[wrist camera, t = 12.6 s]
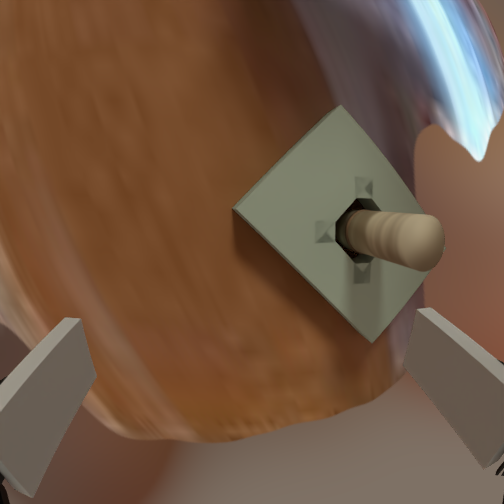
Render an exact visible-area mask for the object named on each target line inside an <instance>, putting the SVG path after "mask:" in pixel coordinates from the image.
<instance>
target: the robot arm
mask: <svg viewBox="0 0 504 504" xmlns="http://www.w3.org/2000/svg"><path fill="white" fill-rule="evenodd" d="M403 366H404V367H405V369H406V370H407V371H408V372H409V374H410V375H411V376H412V377H413V378H414V380H415V381H416V382H417V383H418V385H419V386H420V387H421V388H422V390H423V391H424V392H425V393H426V395H427V396H428V397H429V398H430V400H431V401H432V402H433V403H434V405H435V406H436V407H437V409H438V410H439V411H440V412H441V414H442V415H443V416H444V417H445V419H446V420H447V421H448V423H449V424H450V425H451V427H452V428H453V429H454V430H455V432H456V433H457V434H458V436H459V437H460V438H461V440H462V441H463V442H464V444H465V445H466V446H467V448H468V449H469V450H470V452H471V453H472V455H473V456H474V457H475V459H476V460H477V461H478V463H479V464H480V465H481V466H482V468H483V469H485V468H487V467H489V466H490V465H492V464H493V463H495V462H496V461H498V460H499V459H500V457H501V456H502V455H503V453H504V363H503V362H501V361H499V360H497V359H496V358H494V357H493V356H492V355H491V354H489V353H488V352H487V351H486V350H485V349H483V348H482V347H481V346H480V345H478V344H477V343H476V342H475V341H473V340H472V339H470V337H468V336H467V335H466V334H465V333H463V332H462V331H461V330H459V329H458V328H457V327H455V326H454V325H453V324H451V323H450V322H449V321H448V320H447V319H445V318H444V317H442V316H441V315H440V314H439V313H437V312H436V311H435V310H433V309H432V308H422V309H416V314H415V319H414V323H413V328H412V332H411V336H410V340H409V344H408V348H407V352H406V355H405V359H404V363H403ZM96 377H97V375H96V372H95V369H94V366H93V363H92V359H91V356H90V352H89V349H88V345H87V341H86V338H85V334H84V330H83V326H82V321H81V319H78V318H66V317H65V318H64V319H63V320H62V321H61V322H60V323H59V324H58V325H57V326H56V327H55V328H54V329H53V330H52V331H51V332H50V333H49V334H48V335H47V336H46V337H45V338H44V339H43V340H42V341H41V342H40V343H39V344H38V345H37V346H36V347H35V348H34V349H33V350H32V351H31V352H30V353H29V354H28V355H27V356H26V357H25V358H24V360H23V361H22V362H21V363H20V364H19V365H18V366H17V367H16V368H15V369H14V370H13V371H12V372H11V373H10V375H9V376H7V377H5V378H3V379H2V380H0V504H10V503H9V499H8V495H7V492H6V489H5V487H4V486H3V485H2V482H3V480H4V478H5V479H6V480H7V482H8V483H9V484H10V485H11V486H12V487H13V488H14V489H15V490H17V491H19V492H21V493H23V494H25V495H27V496H30V497H32V498H33V497H34V494H35V492H36V490H37V488H38V486H39V484H40V481H41V479H42V477H43V475H44V473H45V471H46V469H47V467H48V465H49V463H50V461H51V459H52V457H53V455H54V453H55V451H56V449H57V447H58V445H59V443H60V441H61V439H62V438H63V436H64V434H65V432H66V430H67V428H68V426H69V425H70V423H71V421H72V419H73V417H74V415H75V414H76V412H77V410H78V408H79V406H80V405H81V403H82V401H83V399H84V398H85V396H86V394H87V392H88V391H89V389H90V387H91V386H92V384H93V382H94V380H95V379H96ZM503 468H504V462H503V463H502V464H501V466H500V467H499V468H498V469H497V471H496V475H498V474H499V473H500V472H501V471H502V470H503ZM502 476H504V472H503V473H502ZM503 504H504V496H503Z"/></svg>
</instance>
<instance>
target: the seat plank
mask: <svg viewBox="0 0 504 504" xmlns="http://www.w3.org/2000/svg"><path fill="white" fill-rule="evenodd" d="M356 198H357V200H358V201H359V202H360V203H361V204H362V206H363V207H364V208H365V209H366V210H371V211H384V212H399V213H412V214H425V213H424V211H423V210H422V208H421V207H420V205H419V204H418V202H417V201H416V199H415V198H414V196H413V195H412V193H411V192H410V190H409V189H408V187H407V186H406V185H405V183H404V182H403V180H402V179H401V178H400V176H399V175H398V174H397V172H396V171H395V169H394V168H393V167H392V165H391V164H390V163H389V161H388V160H387V159H386V158H385V156H384V155H383V154H382V152H381V151H380V150H379V149H378V147H377V146H376V145H375V144H374V142H373V141H372V140H371V139H370V138H369V136H368V135H367V134H366V133H365V132H364V130H363V129H362V128H361V127H360V126H359V124H358V123H357V122H356V121H355V120H354V119H353V118H352V116H351V115H350V114H349V113H348V112H347V111H346V110H345V109H344V108H343V106H342V105H339V106H338V107H336V108H334V109H333V110H331V111H330V112H328V113H327V114H326V115H325V116H324V117H323V118H322V119H321V120H320V121H319V122H318V123H317V124H315V125H314V126H313V127H312V128H311V129H310V130H309V131H308V132H307V133H306V134H305V135H304V136H303V137H302V138H301V139H300V140H299V141H298V142H297V143H296V144H295V145H294V146H293V147H292V148H291V149H290V150H289V151H288V152H287V153H286V154H285V155H284V156H283V157H282V158H281V159H280V160H279V161H278V162H277V163H276V164H275V165H274V166H273V167H272V168H271V169H270V170H269V171H268V172H267V173H266V174H265V175H264V176H263V177H262V178H261V179H260V180H259V181H258V182H257V183H256V184H255V185H254V186H253V187H252V188H251V189H250V190H249V191H248V192H247V193H246V194H245V195H244V196H243V197H242V198H241V199H240V200H239V202H238V203H237V204H236V205H235V206H234V207H233V208H232V209H233V210H234V211H235V212H236V213H237V214H238V215H240V216H241V217H242V218H243V219H244V220H245V221H246V222H247V223H248V224H249V225H250V226H251V227H252V228H253V229H254V230H255V231H256V232H257V233H258V234H259V235H260V236H261V237H262V238H263V239H264V240H265V241H266V242H267V243H269V244H270V245H271V246H272V247H273V248H274V249H275V250H276V251H277V252H278V253H279V254H280V255H281V256H282V257H283V258H284V259H285V260H286V261H287V262H288V263H289V264H290V265H291V266H292V267H293V268H294V269H295V270H296V271H297V272H298V273H299V274H300V275H301V276H302V277H303V278H304V279H305V280H306V281H307V282H308V283H309V284H310V285H311V286H312V287H313V288H314V289H315V290H316V291H317V292H319V293H320V294H321V295H322V296H323V297H324V298H325V299H326V300H327V301H328V302H329V303H330V304H331V305H332V306H333V307H334V308H335V309H336V310H337V311H338V312H339V313H340V314H341V315H342V316H343V317H344V318H345V319H346V320H347V321H348V322H349V323H350V324H351V325H352V326H353V327H354V328H355V329H356V330H357V331H358V332H359V333H360V334H361V335H362V336H363V337H365V338H366V339H367V340H368V341H370V342H371V343H373V342H374V341H375V340H376V339H377V337H378V336H379V335H380V334H381V333H382V332H383V331H384V329H385V328H386V327H387V326H388V325H389V324H390V322H391V321H392V320H393V319H394V318H395V316H396V315H397V314H398V313H399V311H400V310H401V309H402V308H403V306H404V305H405V304H406V303H407V301H408V300H409V299H410V298H411V296H412V295H413V294H414V292H415V291H416V290H417V289H418V287H419V286H420V285H421V283H422V282H423V280H424V279H425V278H426V276H427V275H428V274H429V272H430V271H431V270H429V271H426V272H421V271H417V270H414V269H411V268H408V267H405V266H402V265H398V264H395V263H392V262H389V261H386V260H383V259H379V258H376V257H373V256H370V255H367V254H360V253H359V254H358V255H357V256H356V257H354V258H350V257H349V256H348V255H347V254H346V253H345V252H344V250H343V249H342V248H341V247H340V246H339V245H338V244H337V243H336V241H335V222H336V221H337V220H338V219H339V217H340V216H341V215H342V214H343V213H344V212H345V211H346V209H347V208H348V207H349V206H350V205H351V204H352V203H353V201H354V200H355V199H356ZM425 215H426V214H425ZM445 249H446V248H445V246H444V250H443V252H444V251H445Z"/></svg>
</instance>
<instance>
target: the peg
mask: <svg viewBox="0 0 504 504" xmlns="http://www.w3.org/2000/svg"><path fill="white" fill-rule="evenodd" d="M335 236H336V238H337V239H338V241H339V242H340V243H341V245H342V246H344V247H345V248H347V249H350V250H353V251H355V252H357V253H360V254H367V255H370V256H373V257H376V258H379V259H383V260H386V261H389V262H392V263H395V264H398V265H402V266H405V267H408V268H411V269H414V270H417V271H421V272H426V271H429V270H431V269H432V268H434V267H435V266H436V265H437V263H438V262H439V260H440V258H441V256H442V254H443V250H444V244H445V238H444V237H445V236H444V231H443V228H442V225H441V223H440V222H439V221H438V219H437V218H435V217H434V216H431V215H425V214H412V213H399V212H384V211H371V210H365V209H363V210H349V211H347V212H345V213H344V214H342V215H341V216H340V217H339V219H338V220H337V221H336V223H335Z"/></svg>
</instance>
